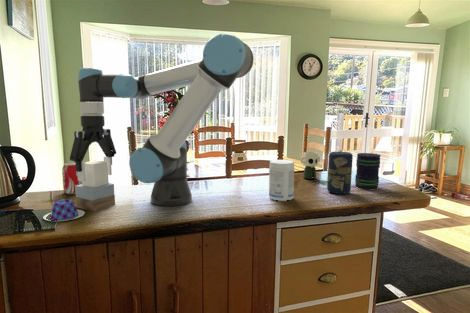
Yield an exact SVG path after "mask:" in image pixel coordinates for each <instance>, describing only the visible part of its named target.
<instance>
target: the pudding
mask: <svg viewBox="0 0 470 313" xmlns="http://www.w3.org/2000/svg"><path fill="white" fill-rule="evenodd" d="M51 209H52V210H51V212H49V213H46V214H45V215H43V217H42V218H43V220H45V221H48V222H52V221H51V220H55V221H56V220H57V221H56V222H59V221H61V222H65V221H70V220H75V219H78V218H80V217H83V216H84V215H85V214H86V212H85V211H84V210H82V209H78V208H77V207H76V204H75V201H74V200H73V199H59V200H56V201H55V200H54V202H53V204H52V208H51ZM49 214H51V217H50V218H51V220H48V219H46V217H47V216H48V215H49Z"/></svg>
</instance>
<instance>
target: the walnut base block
mask: <svg viewBox="0 0 470 313" xmlns="http://www.w3.org/2000/svg"><path fill="white" fill-rule="evenodd" d="M75 202H76V204H75V206H76V209H81V210H82V209H83V210H87V211H93V212H97V211H100V210H103V209H106V208H108V207H112V206H115V205H116V196H115V194H114V195H112V196H108V197H105V198H101V199H97V200H94V201H92V200H87V199H83V198H79V197H76V196H75Z"/></svg>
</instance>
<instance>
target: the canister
mask: <svg viewBox="0 0 470 313" xmlns="http://www.w3.org/2000/svg"><path fill="white" fill-rule="evenodd" d="M353 159H354V158H353V153H351V152H347V151H343V150H341V149H340V150H339V151H331V152H329V153H328V165H327V166H328V167H327V177H326V178H327V179H326V181H327V182H326V190H327V192H329V193H333V194H336V195H339V194H340V195H345V194H349V193H350V192H351V186H352V174H353Z"/></svg>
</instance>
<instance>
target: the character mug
mask: <svg viewBox="0 0 470 313" xmlns="http://www.w3.org/2000/svg"><path fill="white" fill-rule="evenodd" d="M320 162H321V156H320V155H319V152H314V151H304V152H303V154H302V156H300V164H303V166H305V167H304V170H303V178H305V179H307V180H312V179H316V178H317V170H316V167H317V166H318V165H319V163H320ZM312 177H313V178H312Z"/></svg>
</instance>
